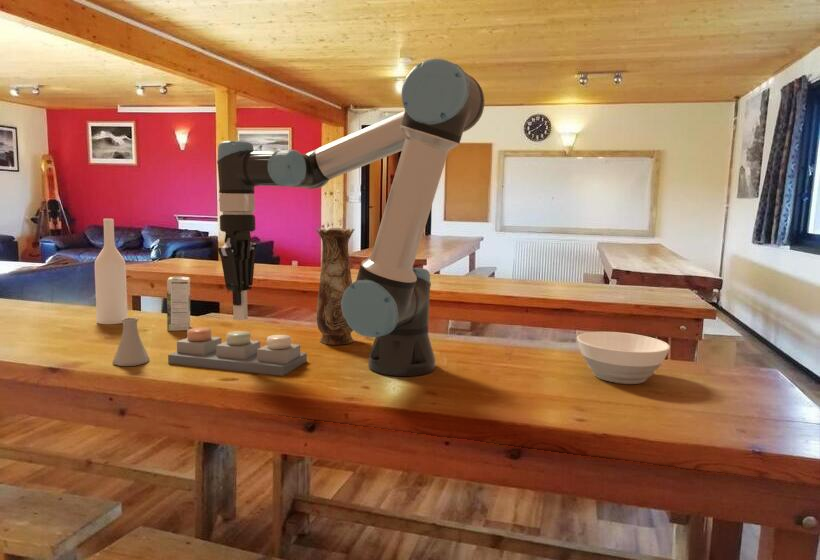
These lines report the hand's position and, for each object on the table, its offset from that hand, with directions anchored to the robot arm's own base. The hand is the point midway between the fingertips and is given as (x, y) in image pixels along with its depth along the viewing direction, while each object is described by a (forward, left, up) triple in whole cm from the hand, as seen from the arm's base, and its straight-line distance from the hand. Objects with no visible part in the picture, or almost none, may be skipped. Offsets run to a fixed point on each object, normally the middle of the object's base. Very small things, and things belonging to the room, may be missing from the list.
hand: (240, 318), depth 133 cm
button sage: (+1, 0, -8) cm, 8 cm away
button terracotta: (+11, 0, -8) cm, 13 cm away
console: (+1, 0, -10) cm, 10 cm away
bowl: (-83, -18, -10) cm, 86 cm away
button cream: (-9, 0, -8) cm, 12 cm away
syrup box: (+34, -25, -10) cm, 43 cm away
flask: (+23, +8, -10) cm, 26 cm away
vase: (-12, -27, -10) cm, 32 cm away
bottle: (+57, -26, -10) cm, 63 cm away
